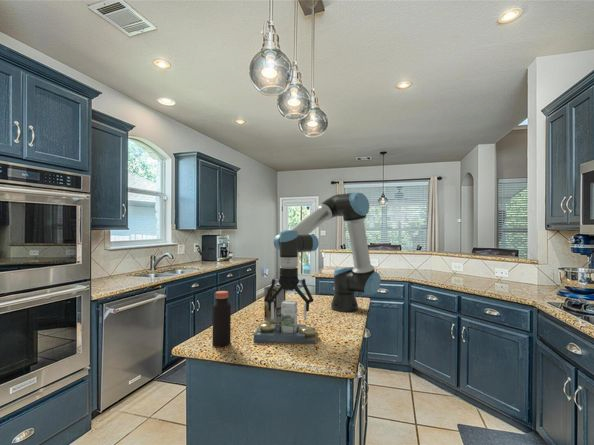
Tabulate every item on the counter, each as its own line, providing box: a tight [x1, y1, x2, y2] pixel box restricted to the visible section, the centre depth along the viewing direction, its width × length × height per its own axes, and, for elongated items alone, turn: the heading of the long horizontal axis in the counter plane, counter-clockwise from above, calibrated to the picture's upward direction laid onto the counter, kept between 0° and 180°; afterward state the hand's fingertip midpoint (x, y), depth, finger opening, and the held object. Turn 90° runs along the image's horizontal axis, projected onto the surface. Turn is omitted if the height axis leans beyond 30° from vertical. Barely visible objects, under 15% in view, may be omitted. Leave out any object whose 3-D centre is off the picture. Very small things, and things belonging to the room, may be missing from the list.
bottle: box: [212, 290, 232, 348], centre depth 121 cm, size 7×7×20 cm
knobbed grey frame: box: [253, 321, 307, 344], centre depth 130 cm, size 20×15×5 cm
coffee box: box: [263, 285, 286, 324], centre depth 154 cm, size 9×6×16 cm
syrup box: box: [280, 300, 298, 333], centre depth 130 cm, size 6×6×14 cm
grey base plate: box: [268, 325, 317, 345], centre depth 129 cm, size 18×15×4 cm
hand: (288, 319), depth 130 cm, fingers open, 13 cm apart
